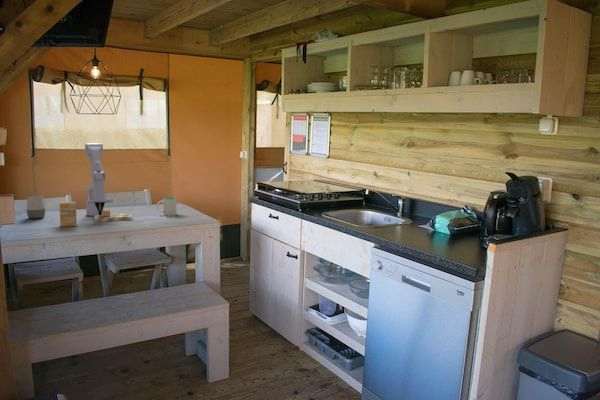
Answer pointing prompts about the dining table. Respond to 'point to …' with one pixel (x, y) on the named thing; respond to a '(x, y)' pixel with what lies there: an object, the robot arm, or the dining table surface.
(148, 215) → the dining table surface
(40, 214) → the smart speaker
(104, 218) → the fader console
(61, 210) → the supplement box
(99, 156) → the robot arm
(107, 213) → the fader tab
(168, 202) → the mug
